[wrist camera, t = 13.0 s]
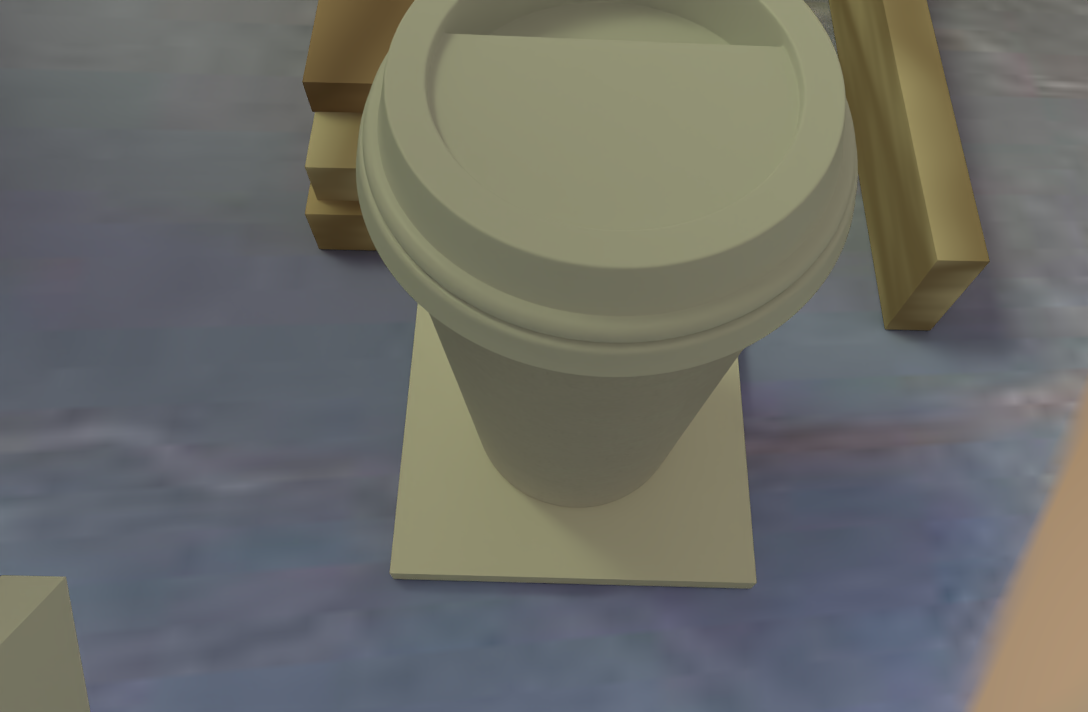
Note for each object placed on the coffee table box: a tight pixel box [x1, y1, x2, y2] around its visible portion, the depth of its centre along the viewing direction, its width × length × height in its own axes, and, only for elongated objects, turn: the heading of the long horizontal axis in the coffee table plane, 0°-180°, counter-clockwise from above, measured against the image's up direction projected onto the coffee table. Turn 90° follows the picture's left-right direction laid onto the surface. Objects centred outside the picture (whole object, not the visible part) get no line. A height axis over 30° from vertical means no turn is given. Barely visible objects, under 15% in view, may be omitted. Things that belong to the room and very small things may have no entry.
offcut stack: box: [302, 0, 415, 250], centre depth 33 cm, size 4×16×5 cm, turn 179°
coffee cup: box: [356, 0, 858, 508], centre depth 21 cm, size 10×10×15 cm
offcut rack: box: [829, 0, 990, 330], centre depth 34 cm, size 22×22×4 cm
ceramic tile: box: [390, 304, 757, 589], centre depth 29 cm, size 11×11×1 cm
